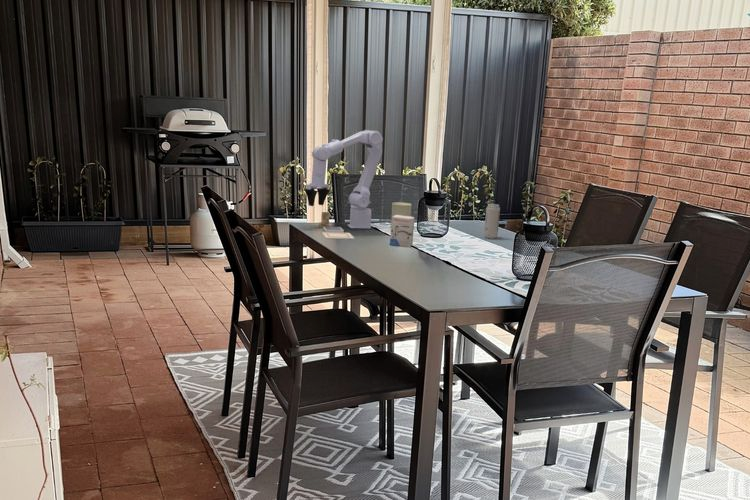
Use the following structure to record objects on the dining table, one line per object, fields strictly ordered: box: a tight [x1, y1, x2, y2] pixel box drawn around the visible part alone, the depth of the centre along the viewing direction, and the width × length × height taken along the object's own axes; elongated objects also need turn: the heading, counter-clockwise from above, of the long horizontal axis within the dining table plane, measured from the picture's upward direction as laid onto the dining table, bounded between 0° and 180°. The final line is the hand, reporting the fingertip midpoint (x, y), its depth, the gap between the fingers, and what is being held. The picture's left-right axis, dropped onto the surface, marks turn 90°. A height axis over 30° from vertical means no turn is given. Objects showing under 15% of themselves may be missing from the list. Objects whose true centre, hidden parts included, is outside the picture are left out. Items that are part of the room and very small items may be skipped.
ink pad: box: [322, 226, 345, 233], centre depth 296 cm, size 8×8×1 cm
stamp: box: [318, 211, 332, 228], centre depth 304 cm, size 5×5×7 cm
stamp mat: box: [321, 231, 356, 240], centre depth 284 cm, size 12×12×1 cm
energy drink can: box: [483, 203, 501, 240], centre depth 299 cm, size 6×6×15 cm
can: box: [390, 201, 413, 229], centre depth 311 cm, size 9×9×12 cm
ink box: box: [389, 215, 415, 248], centre depth 271 cm, size 9×5×12 cm, turn 73°
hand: (315, 205), depth 297 cm, fingers open, 7 cm apart
